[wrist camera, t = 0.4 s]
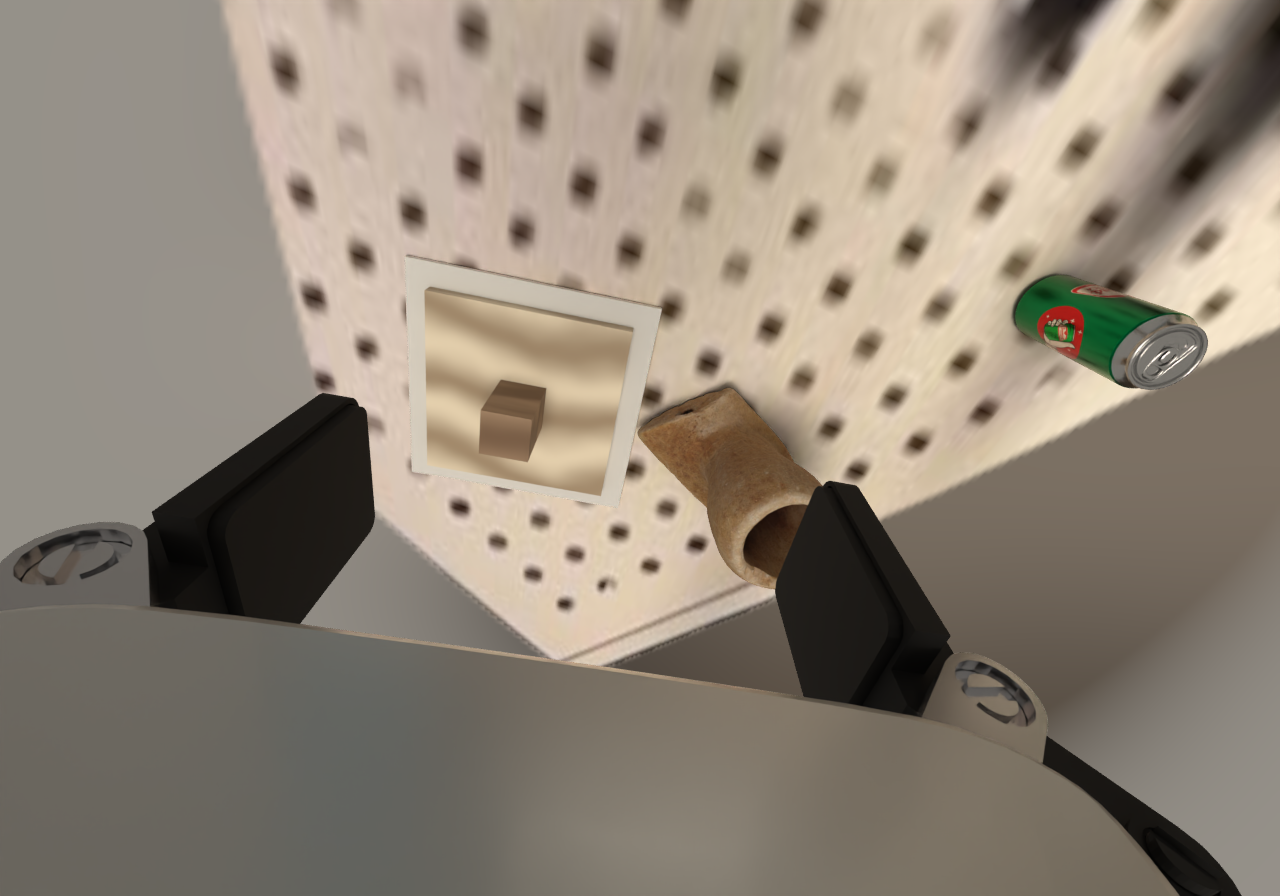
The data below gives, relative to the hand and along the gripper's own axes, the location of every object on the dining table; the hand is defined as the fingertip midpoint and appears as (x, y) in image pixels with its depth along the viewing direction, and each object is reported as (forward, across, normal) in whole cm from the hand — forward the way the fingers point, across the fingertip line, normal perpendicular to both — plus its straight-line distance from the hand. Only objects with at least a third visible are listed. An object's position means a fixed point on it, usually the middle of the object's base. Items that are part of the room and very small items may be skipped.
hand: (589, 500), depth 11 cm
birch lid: (+34, +8, +14) cm, 38 cm away
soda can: (+35, -33, -2) cm, 48 cm away
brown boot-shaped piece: (+35, -12, +16) cm, 41 cm away
